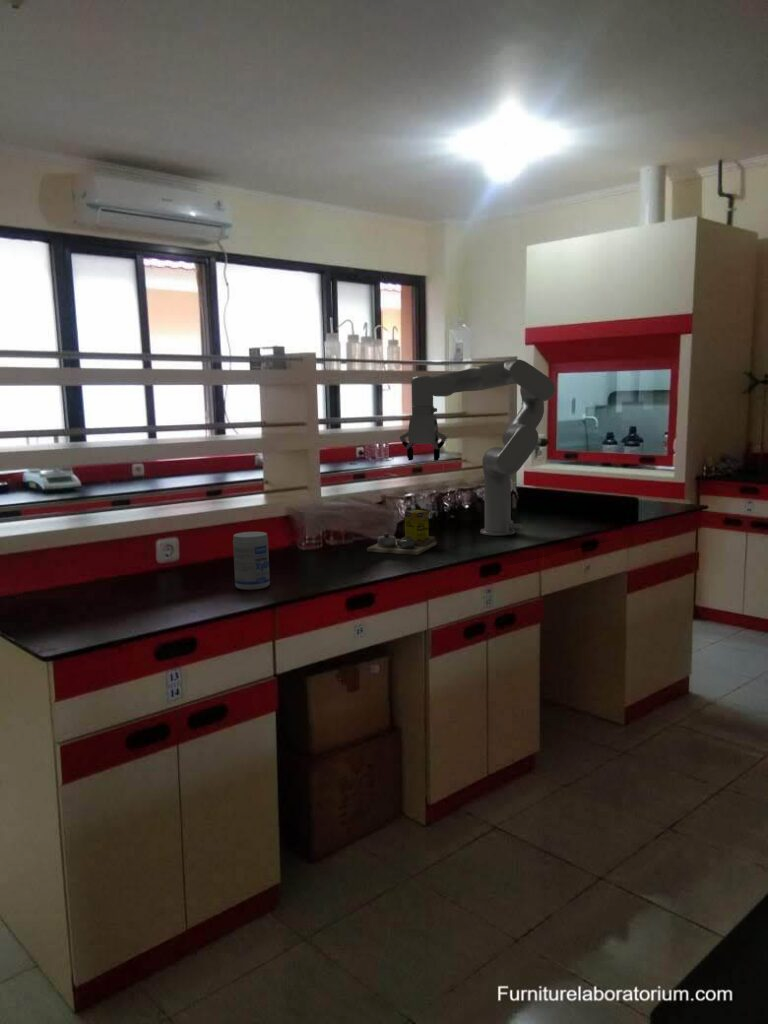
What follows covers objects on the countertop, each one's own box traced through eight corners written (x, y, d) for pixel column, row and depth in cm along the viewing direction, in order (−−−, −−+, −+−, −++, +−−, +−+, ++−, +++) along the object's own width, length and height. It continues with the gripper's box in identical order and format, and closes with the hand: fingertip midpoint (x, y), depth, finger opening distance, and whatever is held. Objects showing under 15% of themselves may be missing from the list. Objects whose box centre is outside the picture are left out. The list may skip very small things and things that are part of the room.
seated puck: (416, 546, 260) (416, 539, 260) (411, 549, 256) (411, 542, 255) (402, 545, 262) (402, 538, 262) (397, 548, 258) (396, 541, 257)
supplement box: (416, 545, 262) (416, 513, 261) (404, 543, 267) (404, 511, 265) (429, 542, 266) (428, 511, 264) (417, 540, 271) (416, 509, 269)
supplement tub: (263, 591, 210) (261, 537, 208) (230, 590, 212) (227, 537, 209) (274, 582, 220) (272, 531, 217) (242, 582, 221) (239, 530, 219)
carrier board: (436, 544, 269) (436, 529, 268) (417, 554, 253) (417, 538, 252) (388, 541, 276) (388, 526, 275) (367, 551, 260) (366, 535, 259)
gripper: (449, 410, 274) (450, 459, 276) (403, 411, 281) (404, 459, 283) (442, 411, 267) (443, 461, 270) (395, 412, 274) (396, 460, 276)
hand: (423, 460), depth 276 cm, fingers open, 9 cm apart
